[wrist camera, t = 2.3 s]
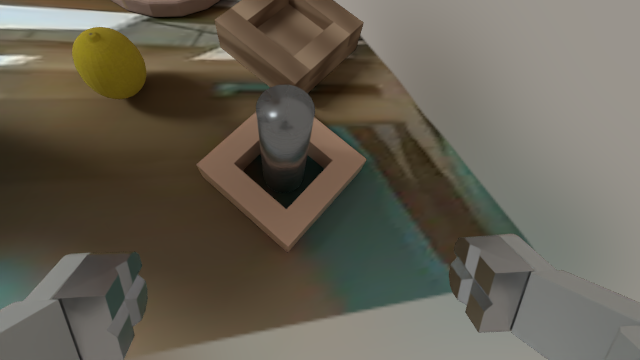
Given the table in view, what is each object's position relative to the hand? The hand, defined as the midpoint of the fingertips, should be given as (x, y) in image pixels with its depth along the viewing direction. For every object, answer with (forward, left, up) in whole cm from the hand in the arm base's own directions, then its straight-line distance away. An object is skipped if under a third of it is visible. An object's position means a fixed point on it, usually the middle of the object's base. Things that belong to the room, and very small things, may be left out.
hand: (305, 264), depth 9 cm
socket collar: (+9, +8, -24) cm, 27 cm away
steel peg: (+9, +8, -24) cm, 27 cm away
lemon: (+5, +26, -24) cm, 36 cm away
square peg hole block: (+21, +18, -24) cm, 36 cm away
